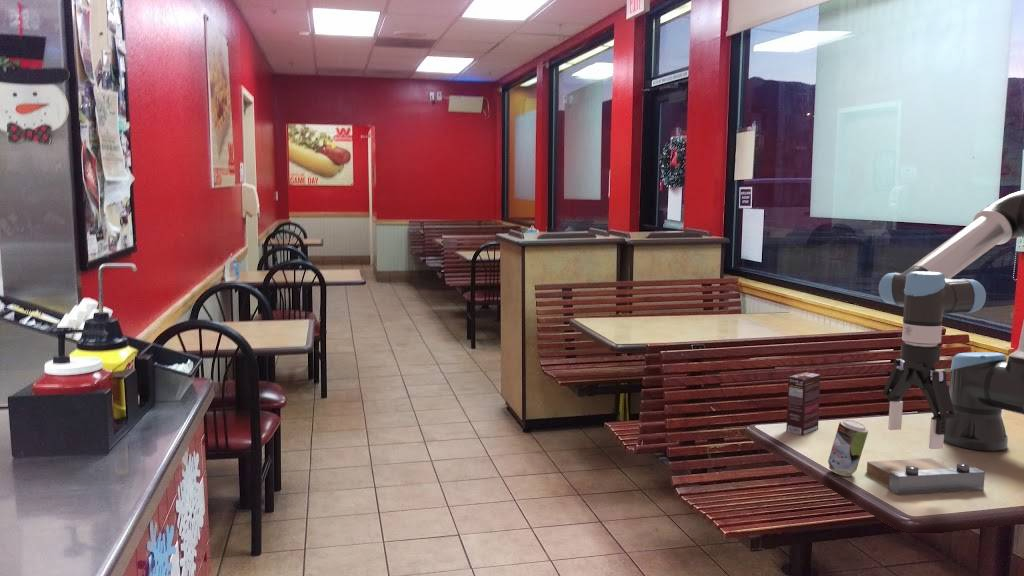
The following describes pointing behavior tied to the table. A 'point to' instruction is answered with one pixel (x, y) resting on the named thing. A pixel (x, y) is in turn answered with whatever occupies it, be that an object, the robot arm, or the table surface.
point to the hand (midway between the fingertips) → (914, 438)
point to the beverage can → (847, 447)
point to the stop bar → (936, 480)
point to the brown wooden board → (900, 467)
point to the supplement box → (803, 403)
